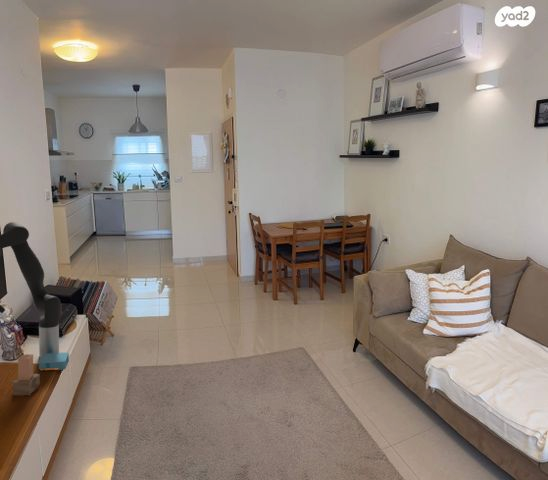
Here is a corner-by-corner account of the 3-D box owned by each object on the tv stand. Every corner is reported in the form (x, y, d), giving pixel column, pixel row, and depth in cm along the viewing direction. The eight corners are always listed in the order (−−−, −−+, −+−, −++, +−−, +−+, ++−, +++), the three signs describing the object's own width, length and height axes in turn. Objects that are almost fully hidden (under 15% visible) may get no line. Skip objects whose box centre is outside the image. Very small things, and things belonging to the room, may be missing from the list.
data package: (38, 371, 215) (65, 370, 218) (38, 362, 215) (65, 361, 218) (43, 361, 227) (69, 360, 230) (43, 353, 226) (69, 352, 229)
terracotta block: (18, 380, 193) (18, 358, 192) (21, 375, 197) (21, 354, 196) (29, 380, 194) (29, 358, 193) (33, 375, 198) (33, 354, 197)
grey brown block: (24, 385, 201) (24, 373, 200) (39, 386, 201) (39, 374, 200) (12, 395, 192) (12, 382, 191) (29, 396, 192) (28, 383, 191)
